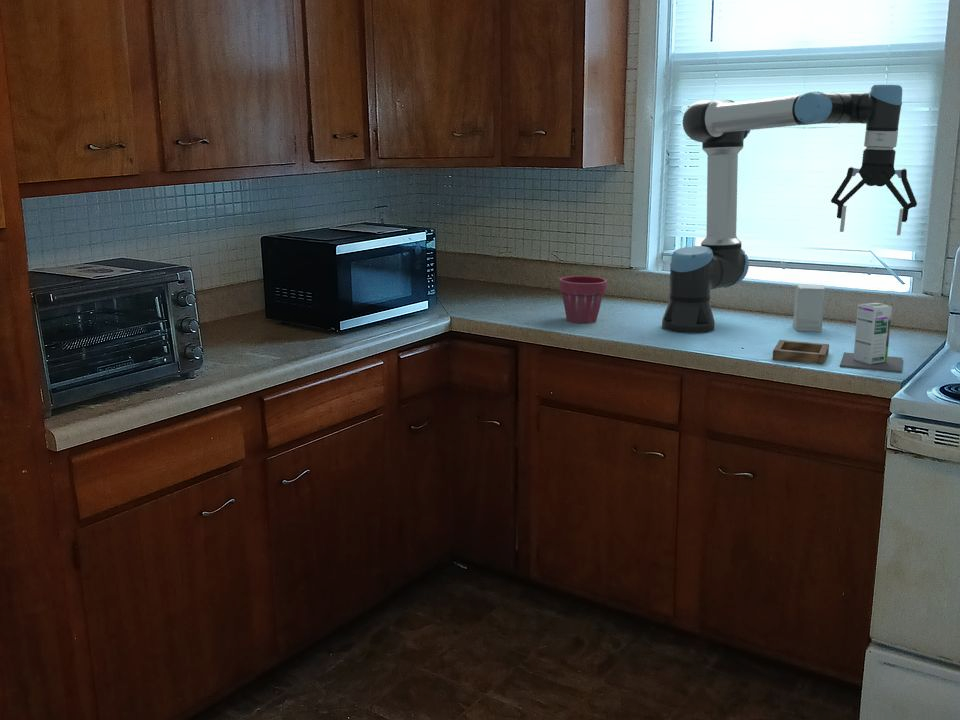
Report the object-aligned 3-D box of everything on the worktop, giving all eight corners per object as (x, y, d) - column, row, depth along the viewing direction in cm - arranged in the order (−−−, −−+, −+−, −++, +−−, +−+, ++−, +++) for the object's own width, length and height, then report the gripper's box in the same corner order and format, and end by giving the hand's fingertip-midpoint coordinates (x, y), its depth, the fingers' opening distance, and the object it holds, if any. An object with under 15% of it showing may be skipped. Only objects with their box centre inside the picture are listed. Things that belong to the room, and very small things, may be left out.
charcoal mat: (839, 366, 234) (840, 364, 233) (843, 354, 246) (844, 352, 246) (901, 372, 228) (901, 370, 228) (902, 359, 240) (902, 357, 240)
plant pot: (612, 318, 290) (613, 277, 287) (595, 327, 278) (596, 284, 275) (569, 314, 297) (570, 273, 294) (551, 322, 285) (551, 280, 282)
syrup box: (870, 365, 233) (876, 307, 230) (852, 359, 238) (857, 303, 235) (887, 362, 235) (893, 305, 232) (868, 357, 241) (874, 301, 237)
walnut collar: (772, 359, 241) (773, 350, 240) (778, 348, 252) (779, 339, 251) (824, 364, 236) (824, 354, 235) (828, 353, 247) (829, 344, 246)
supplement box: (822, 332, 271) (825, 288, 268) (795, 331, 273) (798, 288, 269) (818, 326, 278) (822, 284, 275) (792, 325, 280) (795, 283, 276)
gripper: (825, 147, 238) (817, 231, 244) (934, 150, 228) (922, 238, 233) (829, 146, 245) (820, 228, 250) (934, 149, 234) (923, 234, 240)
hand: (869, 233), depth 242 cm, fingers open, 13 cm apart
